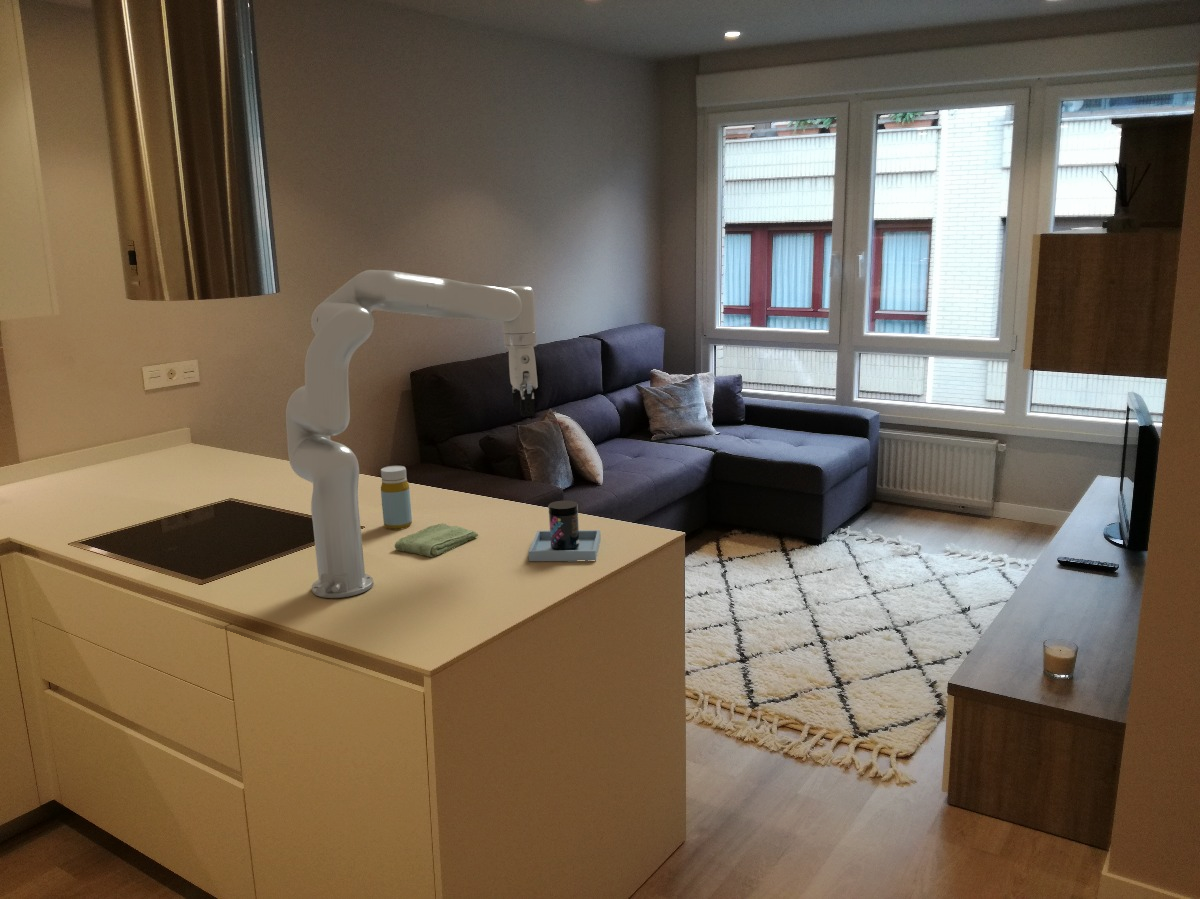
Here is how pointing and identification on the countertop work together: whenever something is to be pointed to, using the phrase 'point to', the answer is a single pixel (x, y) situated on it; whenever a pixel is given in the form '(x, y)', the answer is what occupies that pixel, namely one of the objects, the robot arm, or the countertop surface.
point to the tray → (585, 551)
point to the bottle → (395, 497)
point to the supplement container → (564, 525)
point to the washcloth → (435, 540)
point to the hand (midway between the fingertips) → (523, 412)
